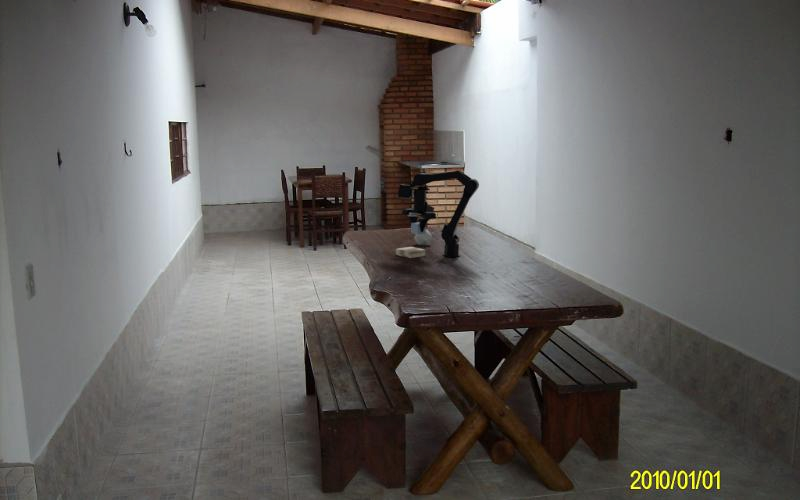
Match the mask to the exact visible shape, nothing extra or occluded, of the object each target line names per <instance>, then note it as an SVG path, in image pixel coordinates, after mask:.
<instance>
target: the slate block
mask: <svg viewBox="0 0 800 500" xmlns="http://www.w3.org/2000/svg"><path fill="white" fill-rule="evenodd" d="M426 227H427V225H426V226H425V228H424V231H423V232H421V230H420V224H419V221H418V222H417V223H410V233H411V234H414V235H416V234H425V233H426V229H427V228H426Z"/></svg>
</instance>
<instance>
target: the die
mask: <svg viewBox="0 0 800 500" xmlns="http://www.w3.org/2000/svg"><path fill="white" fill-rule="evenodd" d="M432 237H433V236H432V234H431V233H430V231H429V229H427V228H426V233H425V234H414V238H413V239H414V241H415V243H417V246H429V245H430V243H431V240H432Z"/></svg>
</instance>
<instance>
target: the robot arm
mask: <svg viewBox="0 0 800 500" xmlns="http://www.w3.org/2000/svg"><path fill="white" fill-rule="evenodd" d="M412 179H413V181H411V183H410V184H402V183H400V184H399V188H398V191H397V197H398V199H405V200H406V199H407V200H411V199H412V198H413V200H411V204H413V207H412V208H403V209H402V212H401V215H403V216H406V218H407V219H408V221H409V223H410V224H411V223H417V221H418V222H419V224H420V230H421V232H423V231H424V228H425V226H426V227H427V223H428V221H430V220H433V219H434V220H436V218H437V214H436V213H435V212H434V211H435V206H434V207H433V206H431V205H429V204H428V201H426V197H427V196H426V195H427V194H426V192H427V191H431V189H430V188H429V186H428V185H427V184H430V183H433V182H441V181H448V180H455V179H456V180H457V181H458V182H459V183H460V184H461V185H463V186H464V187H463V192H462V195H461V198H460V200H459V202H458V204H457V206H456V208H455V211H454V212H453V215H452V217H451V219H450V221H449V222H446V223H445V224H444V225H443V228H442V229H441V230H440V232H441V236H440V237H441V238H442V240H443V241H444V249H443V250H444V253H443V254H442V256H443V257H446V258H458V257H459V258H460V257H461V255H460V254H459V252H460V251H459V250H460V249H459V248H460V244H459V241H460V238H459V236H458V235H457V234H456V233H457V230H458V225H459V222H460V221H461V219H462V217H463V214H464V212H465V210H466V208H467V206H468V204H469V202H470V200H471V199H472V197H473V195H475V193H476V192H477V190H478V189H479V186H480V184H479V181H478V180H477V179H475V178H471V177H470V176H469V175H467V174H466V173H464V172H463V171H462V170H461V169H457V170H452V171H446V172H438V173H426V172H422V173H417V174H415V175H414V177H413V178H412ZM423 185H424V186H423ZM417 187H418V188H417ZM420 217H421V218H420Z"/></svg>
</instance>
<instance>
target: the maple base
mask: <svg viewBox="0 0 800 500" xmlns="http://www.w3.org/2000/svg"><path fill="white" fill-rule="evenodd" d="M395 255H396V256H399V257H402V258H403V257H404V258H409V259H413V258H419V257H426V249H423V248H419V247H414V246H408V247H407V246H406V247H399V248H396V249H395Z"/></svg>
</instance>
